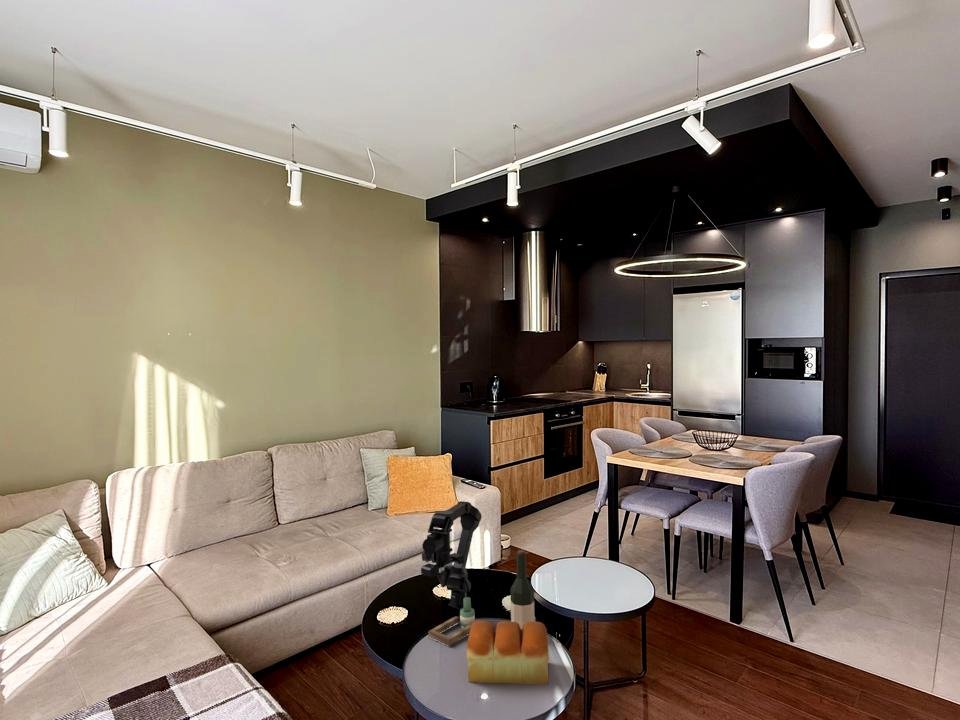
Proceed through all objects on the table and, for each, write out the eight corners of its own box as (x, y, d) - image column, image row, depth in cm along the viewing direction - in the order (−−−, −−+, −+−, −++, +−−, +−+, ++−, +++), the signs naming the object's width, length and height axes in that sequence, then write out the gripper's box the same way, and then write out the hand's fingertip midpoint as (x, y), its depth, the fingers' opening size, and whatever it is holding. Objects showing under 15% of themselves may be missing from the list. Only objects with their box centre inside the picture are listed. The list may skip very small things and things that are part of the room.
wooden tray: (455, 622, 198) (455, 616, 198) (476, 630, 191) (476, 623, 191) (428, 638, 187) (428, 631, 187) (449, 647, 180) (449, 639, 180)
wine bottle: (534, 630, 190) (532, 547, 191) (535, 642, 182) (532, 555, 183) (511, 630, 191) (510, 547, 192) (511, 641, 183) (509, 555, 184)
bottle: (466, 620, 199) (466, 594, 199) (477, 624, 196) (477, 597, 196) (457, 626, 195) (456, 599, 195) (468, 630, 192) (467, 603, 192)
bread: (547, 662, 170) (546, 616, 170) (549, 685, 157) (548, 635, 158) (471, 660, 172) (470, 614, 172) (466, 683, 160) (465, 634, 160)
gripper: (444, 536, 215) (444, 574, 214) (410, 548, 200) (411, 589, 200) (464, 541, 207) (465, 580, 207) (431, 554, 193) (432, 597, 193)
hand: (443, 586), depth 202 cm, fingers closed
